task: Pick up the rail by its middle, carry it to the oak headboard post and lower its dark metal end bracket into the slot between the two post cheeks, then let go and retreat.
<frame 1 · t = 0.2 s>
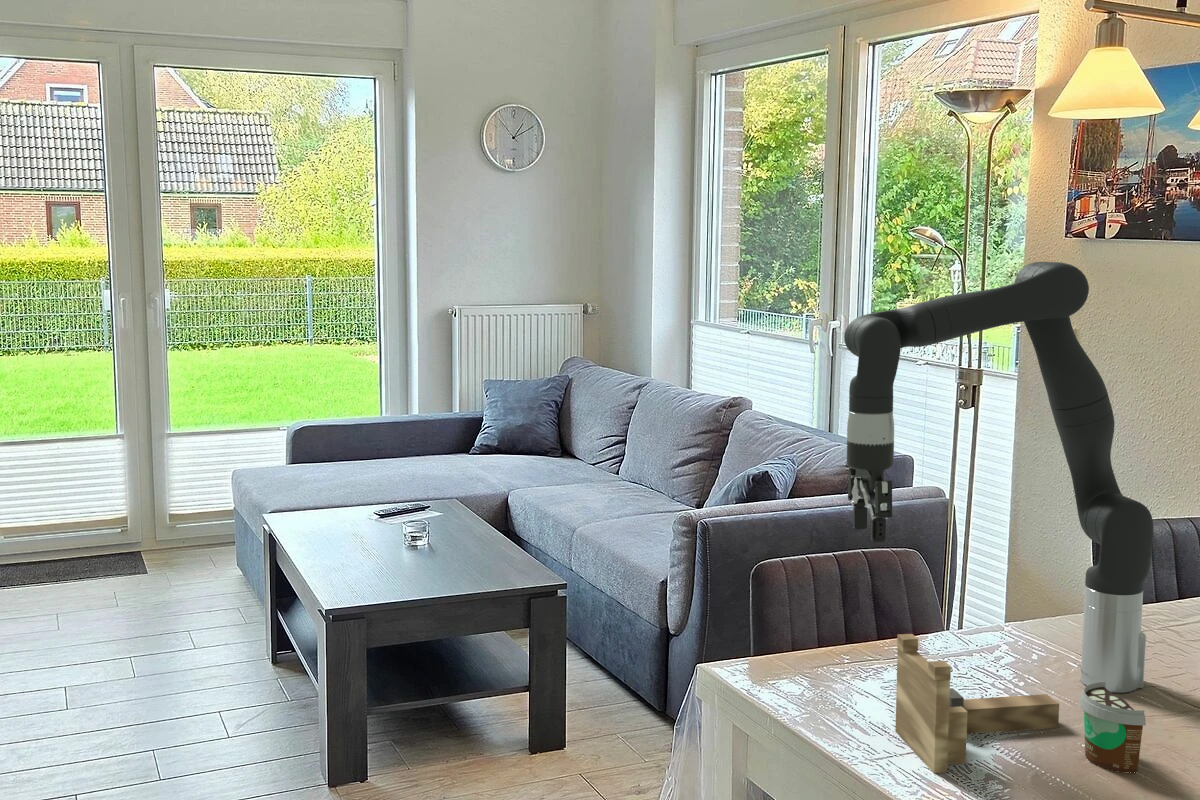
hand: (868, 535, 199), 29 cm above the table, tool pointing down, fingers open, 8 cm apart
rail: (998, 726, 192), on the table
headboard: (939, 749, 183), on the table
food container: (1100, 761, 179), on the table
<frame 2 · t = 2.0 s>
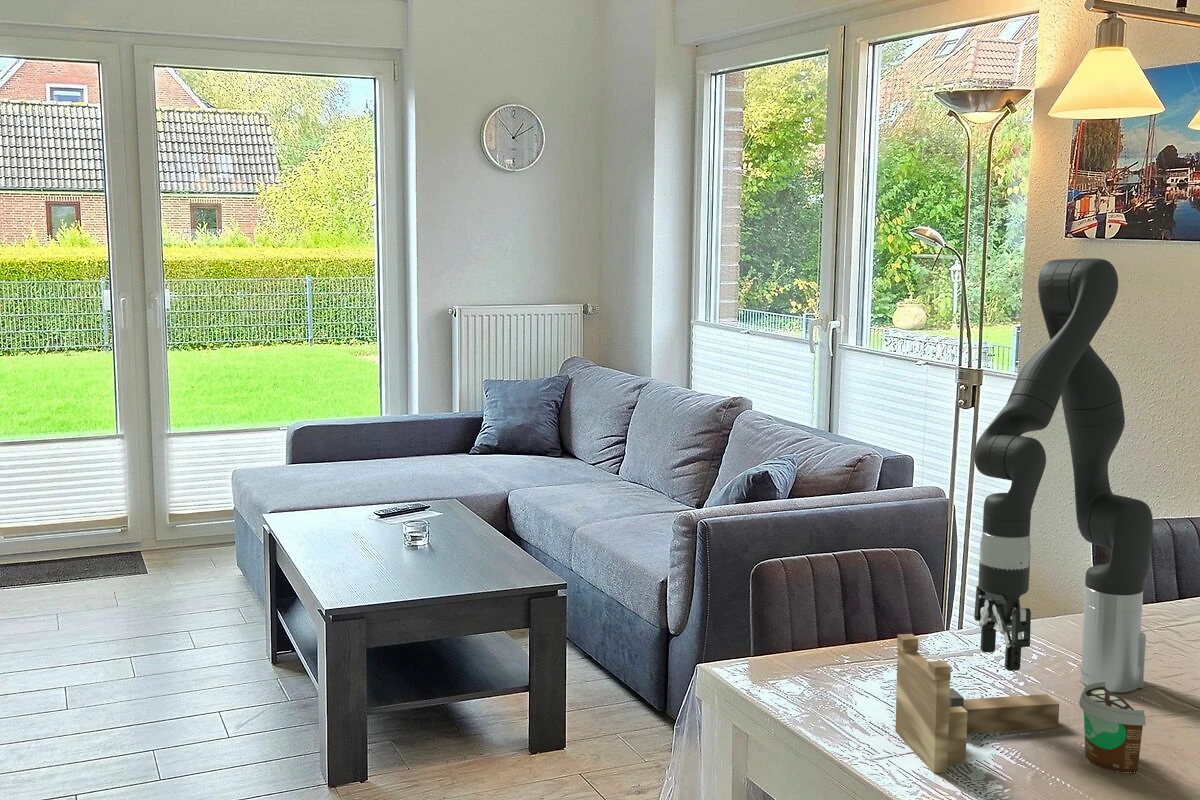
hand: (999, 660, 190), 11 cm above the table, tool pointing down, fingers open, 8 cm apart
nothing on the table moved.
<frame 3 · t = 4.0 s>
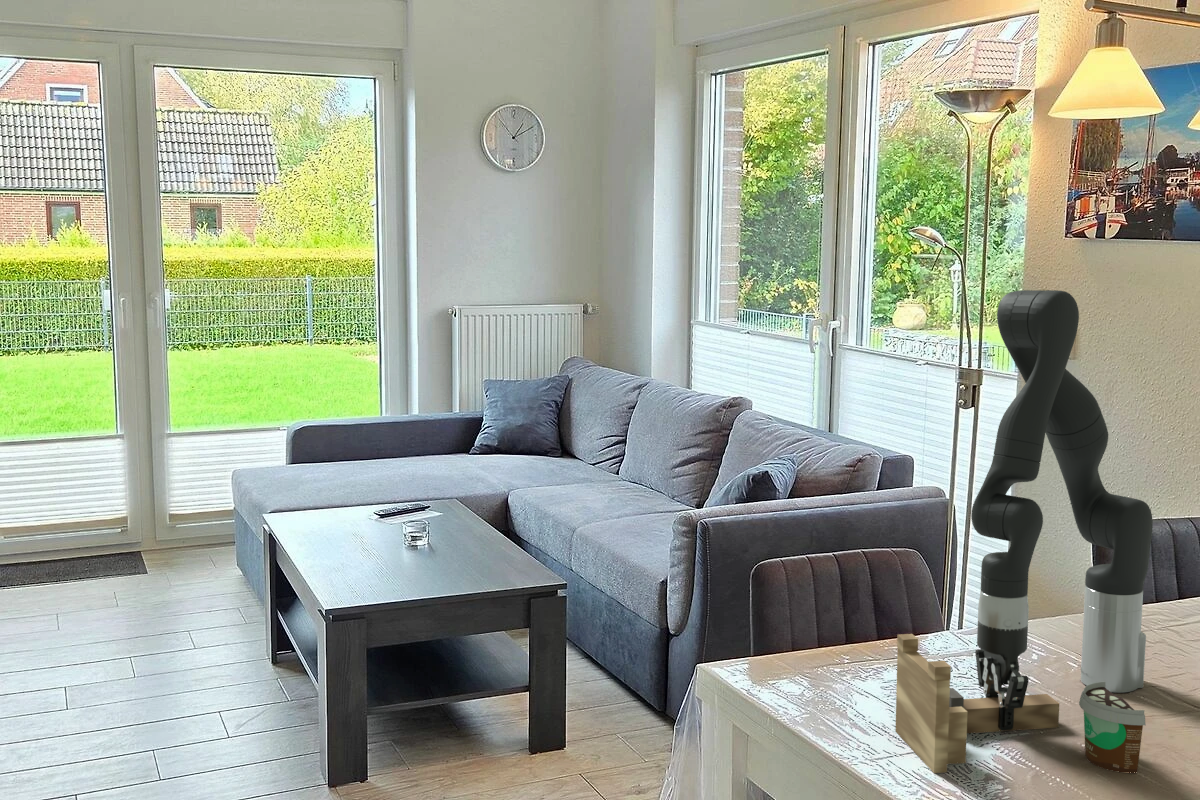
hand: (998, 722, 192), 0 cm above the table, tool pointing down, fingers closed on rail, 4 cm apart
rail: (998, 725, 192), on the table, touching gripper
everything else where it was.
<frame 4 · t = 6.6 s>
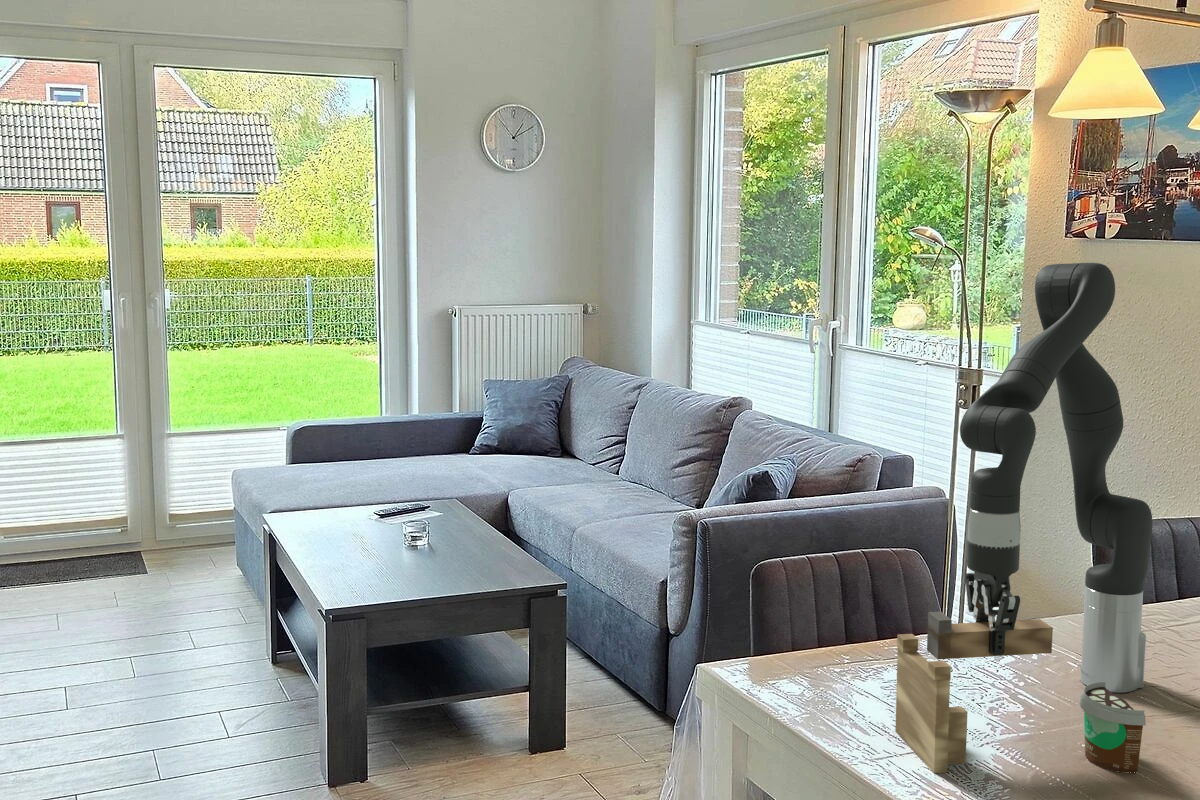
hand: (989, 648, 182), 16 cm above the table, tool pointing down, fingers closed on rail, 4 cm apart
rail: (989, 651, 182), point 15 cm above the table, touching gripper
everything else where it was.
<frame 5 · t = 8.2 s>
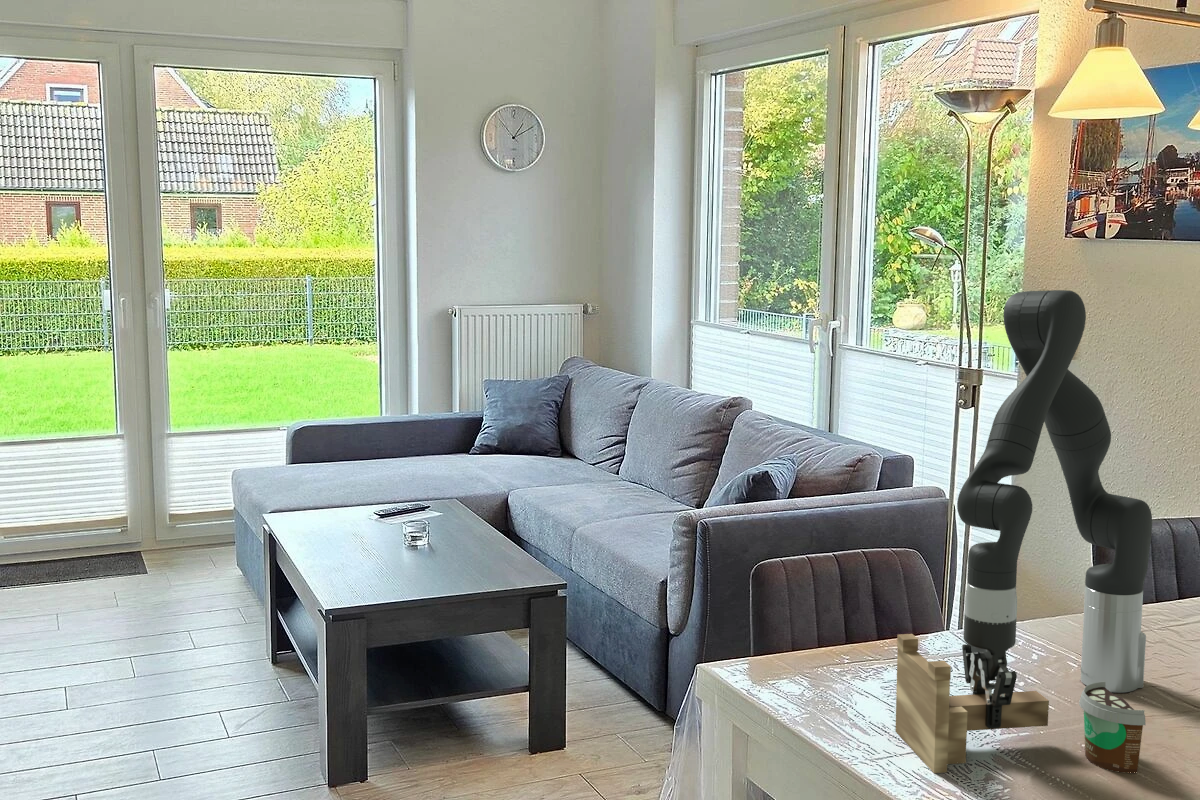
hand: (986, 720, 184), 4 cm above the table, tool pointing down, fingers closed on rail, 4 cm apart
rail: (985, 724, 184), point 4 cm above the table, touching gripper
everything else where it was.
when the fingers open (2 cm above the table, at t = 9.4 s): rail drops 1 cm, on the table.
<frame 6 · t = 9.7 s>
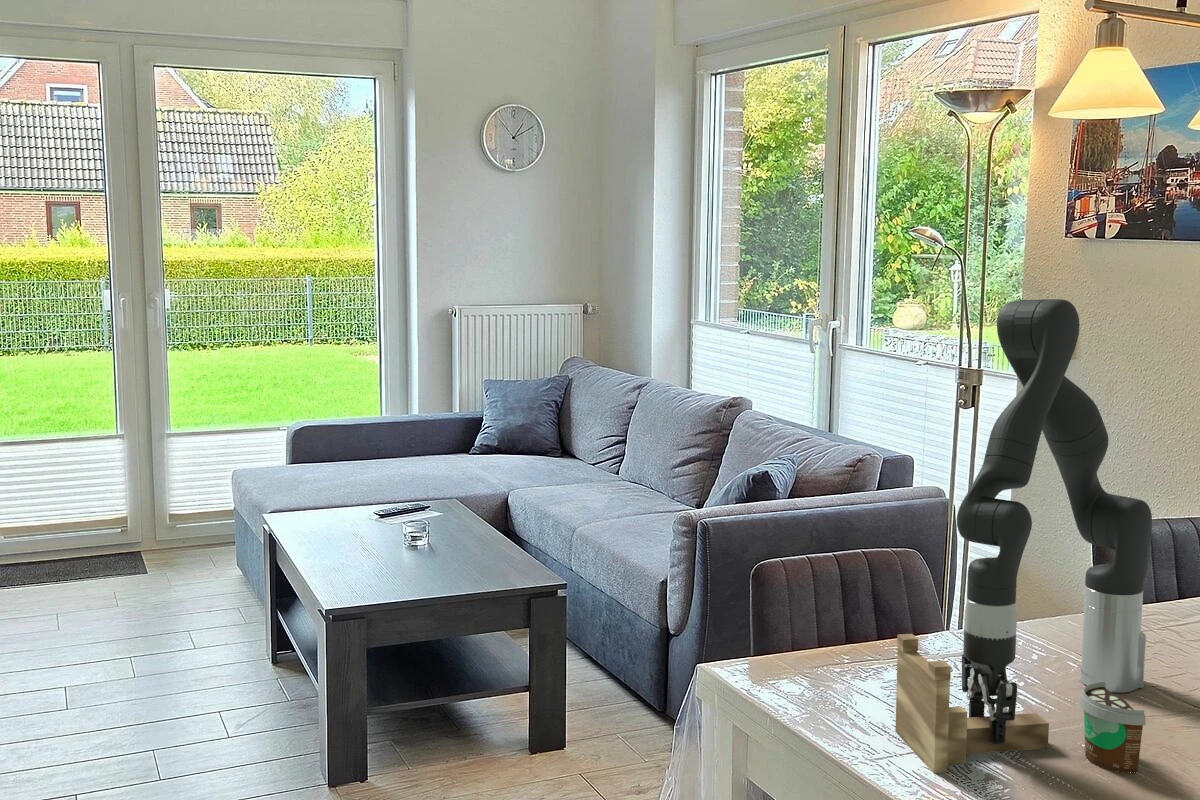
hand: (986, 732, 184), 2 cm above the table, tool pointing down, fingers open, 6 cm apart
rail: (986, 746, 184), on the table
everything else where it was.
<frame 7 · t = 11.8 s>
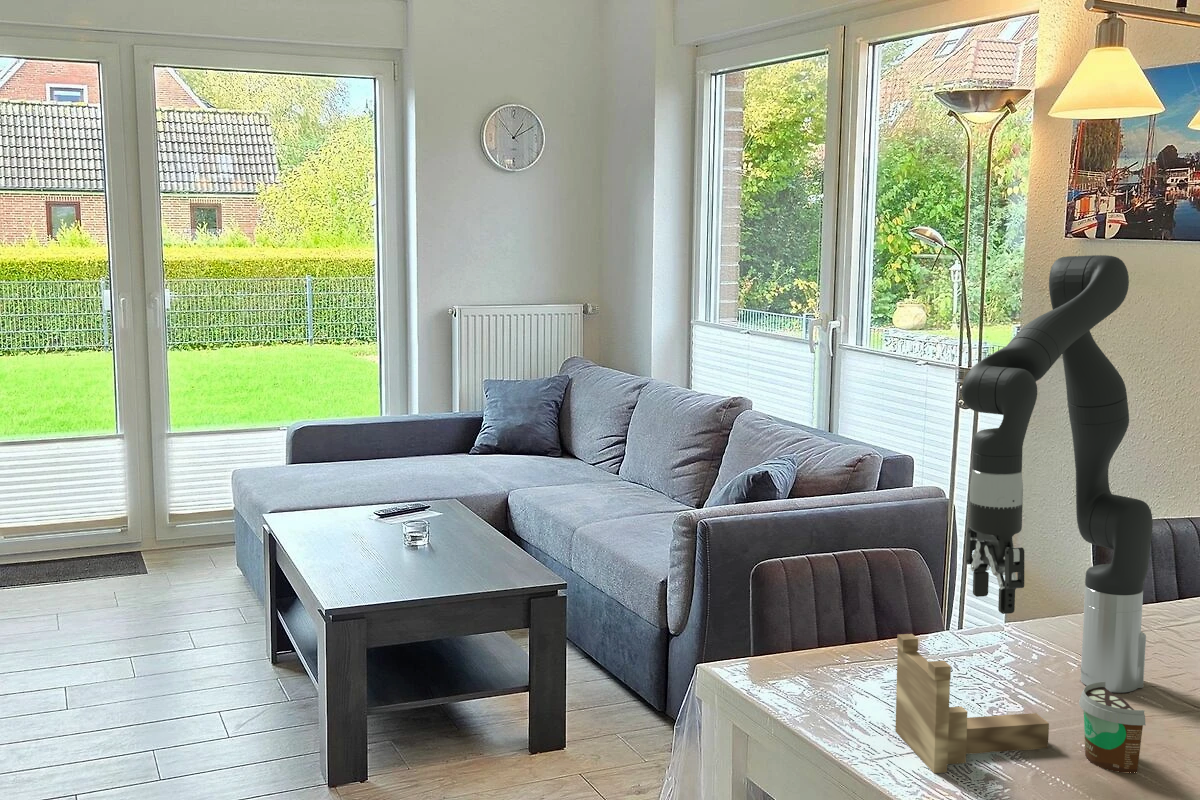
hand: (993, 604, 182), 22 cm above the table, tool pointing down, fingers open, 8 cm apart
nothing on the table moved.
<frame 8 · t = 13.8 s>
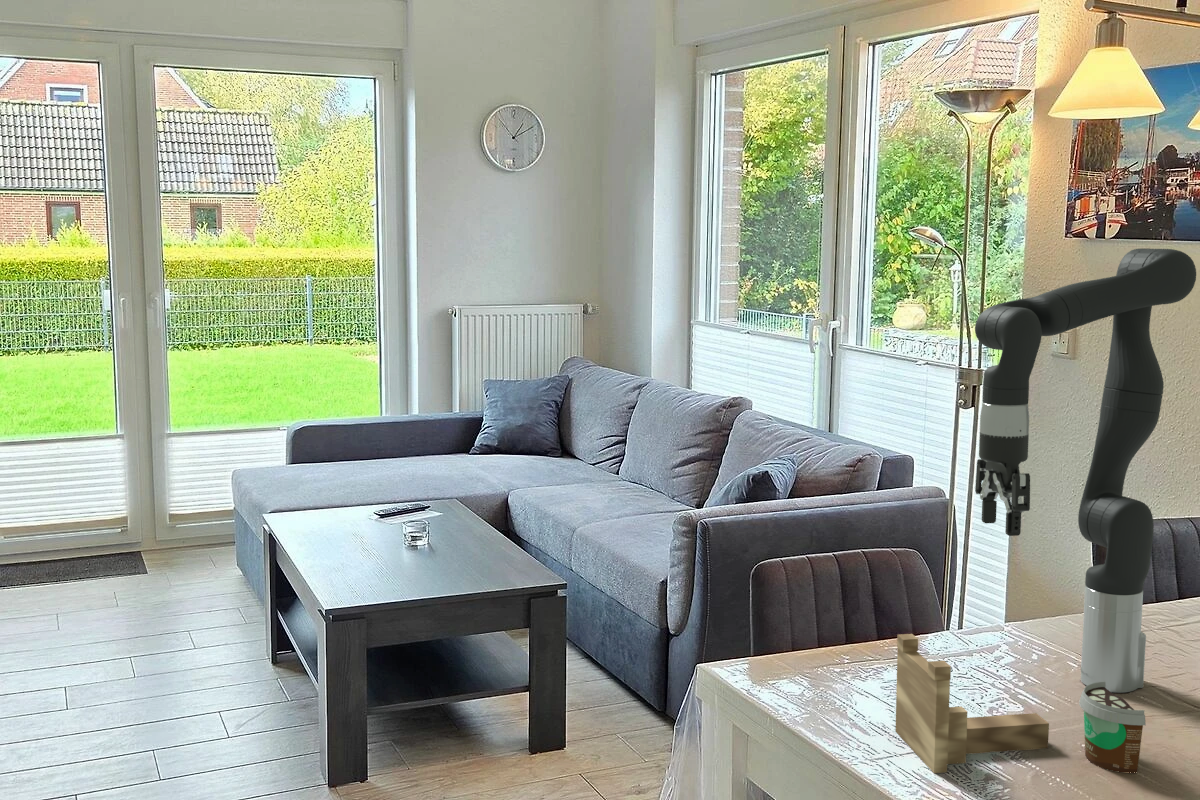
hand: (1000, 528, 196), 30 cm above the table, tool pointing down, fingers open, 8 cm apart
nothing on the table moved.
at the end: rail 0.4 cm from the target spot on the table beside the headboard, on the table; rail tilted 0°; the gripper is holding nothing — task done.
